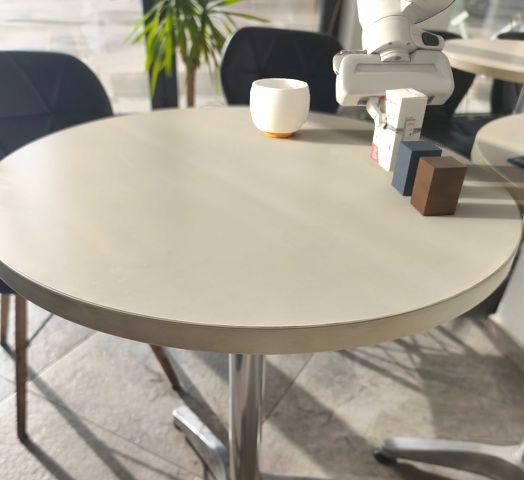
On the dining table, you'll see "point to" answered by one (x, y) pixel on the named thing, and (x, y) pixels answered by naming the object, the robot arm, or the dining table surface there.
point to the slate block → (411, 163)
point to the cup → (279, 105)
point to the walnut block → (438, 185)
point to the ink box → (398, 124)
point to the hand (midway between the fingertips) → (399, 125)
